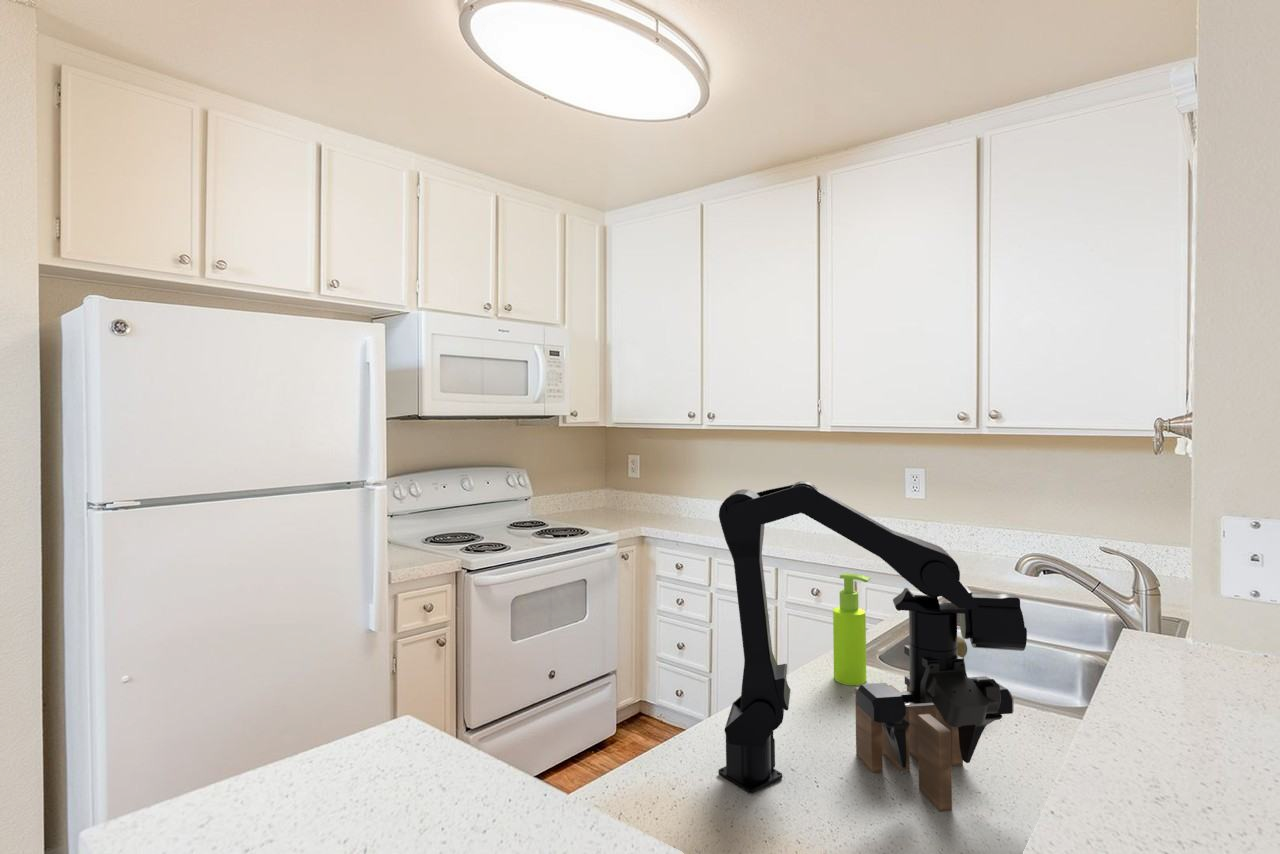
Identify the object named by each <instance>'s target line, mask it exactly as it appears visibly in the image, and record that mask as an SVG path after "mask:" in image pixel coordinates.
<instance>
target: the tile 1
mask: <svg viewBox="0 0 1280 854" xmlns="http://www.w3.org/2000/svg"><path fill="white" fill-rule="evenodd" d="M859 687H860V686H855V687H854V689H855V692H854V693H855V695H854V696H855V700H856V691H857V690H858V688H859ZM855 752H856V753H855V755H856V757H858V759H859V760H860V761H861V763H863V764H864V766H866V767H867V769H868V770H869V771H870V773H883V772H884V771H883V768H884V766H883V765H884V764H883V762H884V761H883V758H884V757H883V756H884V754H883V751H882V723H879V722H875V721H873V720H872V719H871V718H870V717H869V716H868V715H867V714H866V713H865V712H864V711H863V710H862V709H861V708H860V707H859V706H858V705H857V704H856V703H855Z"/></svg>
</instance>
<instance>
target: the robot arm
mask: <svg viewBox="0 0 1280 854" xmlns="http://www.w3.org/2000/svg"><path fill="white" fill-rule="evenodd" d="M799 514H803V515H805V516H807V517H809V518H810V519H812V520H813V521H816V522H817V523H819V524H821V525H823V526H825V527H827V528H828V529H829V530H832V531H833V532H835V533H837V534H839V535H840V536H842V537H843V538H846V539H847V540H849V541H851V542H852V543H854V544H856V545H857V546H860V547H861V548H863V549H865V550H867V551H868V552H870V553H872V554H874V555H875V556H877V557H878V558H880V559H881V560H882V561H883V562H885V563H886V564H887V565H888V566H890V567H891V568H892V569H893V570H894V571H895V572H897V574H899V575H900V576H901V577H902V578H904V580H906V582H908V583H910V584H911V585H912V586H913V587H914V588H915V589H916V590H918V591H919V592H921V593H922V594H914V593H912V592H911V591H910V590H909V588H908V587H904V589H903V590H902V591H901V593H900V594H898V595H897V596H895V597H894V598H892V603H893V605H894V607H895V609H896V611H908V640H909V641H908V645H907V644H905V645H903V646H904V649H903V651H904V655H907V656H908V659H909V661H908V662H909V663H908V664H909V665H908V666H909V675H904V685H906V687H907V686H908V687H910V691H907V690H906V691H904V690H903V691H900V692H896V691H895V690H894V689H893V688H891V687H890V686H889V685H890V684H888V683H886V682H878V683H877V682H876V683H864V684H861V685H859V686H858V687H859V688H858V690H857V691H856V699H855V705H856V704H857V705H858V706H859V707H860V708H861V709H862V710H863V711H864V712H865V713H866V714H867V715H868V716H869V717H870V718H871V719H872V720H873V721H875V722H879V723H882V725H883V727H884V729H885V731H886V733H887V736H888V738H889V741H890V743H891V746H892V748H893V750H894V753H895V755H896V758H897V760H898V763H899V765H900V766H901V767H902V768H906V762H907V751H906V729H907V728H908V727H909V725H910V723H908V722H907V721H906V720H905V719H904V717H905V715H906V708H909V707H923V706H936V708H937V709H938V711H939V712H940V713H941V715H942V716H943V719H944V721H945V722H946V723H947V724H948V725H950V726H952V727H958V733H959V745H960V751H961V757H962V760H963V763H966V764H969V763H970V762H971V760H972V758H973V755H974V753H975V751H976V748H977V745H978V743H979V740H980V738H981V736H982V734H983V733H984V730H985V729H986V727H987V726H988V725H989V724H991V723H993V722H995V721H1000V720H1001V719H1003V715H1009V714H1014V706H1015V705H1014V703H1015V701H1014V697H1013V695H1012V693H1011V691H1010V690H1009V689H1008V688H1006V687H1004V686H1003V685H1001V684H1000V683H998V682H997V681H996V680H995V679H993V678H990V677H988V676H986V675H985V676H971V677H970V676H968V675H967V670H966V671H965V669H966V663H964V662H965V658H964V659H963V658H962V657H960V656H958V655H957V636H958V614H959V627H960V634H961V638H962V639H964V640H969V641H970V645H971V647H972V648H974V649H985V650H986V649H987V650H990V649H991V650H1001V651H1002V650H1004V651H1018V652H1019V651H1020V652H1024V651H1025V649H1026V647H1027V641H1028V640H1027V639H1028V633H1027V632H1028V630H1027V627H1026V626H1025V620H1024V615H1023V611H1022V609H1021V599H1020V597H1018V596H1017V595H1016V594H1015V593H1001V594H989V593H988V594H986V593H973V592H972V591H971V589H970V588H969V587H968V586H967V585H966V584H965V583H962V582H961V580H960V579H961V571H960V568H959V565H958V564H957V562H956V561H955V559H953V558H952V556H951V555H950V554H949V553H948V552H947V550H945V549H944V548H942V547H941V546H939V545H937V544H934V543H931V542H929V541H926V540H924V539H921V538H918V537H916V536H915V537H914V536H911V535H908V534H905V533H902V532H898V531H895V530H893V529H891V528H889V527H887V526H885V525H883V524H881V522H878V521H876V520H875V519H872V518H871V517H869V516H867V515H865V514H864V513H862V512H860V511H858V510H856V509H855V508H853V507H851V506H849V505H847V504H846V503H844V502H843V501H841V500H839V499H837V498H835V497H833V496H831V495H830V494H828V493H826V492H824V491H822V490H821V489H819V488H818V487H816V485H814V483H812V482H811V481H810V482H809V481H807V480H800V481H797V482H795V483H794V484H789V485H786V486H780V487H779V486H778V487H775V488H770V489H766V490H763V491H759V492H755V491H753V490H751V489H747V488H746V489H745V488H744V489H739V490H736V491H734V492H733V493H731V494H730V495H729V496H727V498H725V500H724V501H723V502H722V503H721V504H720V506H719V510H718V518H719V520H718V521H719V524H720V526H721V530H722V534H723V536H724V541H725V543H726V545H727V548H728V551H729V552H730V554H731V555H730V556H731V558H732V561H733V567H734V575H735V585H736V586H735V587H736V595H737V604H738V605H737V606H738V612H739V614H738V615H739V623H740V631H741V639H742V648H743V649H742V650H743V658H744V660H743V662H744V663H743V664H744V665H743V671H742V681H741V682H742V683H741V694H740V696H739V697H738V698H737V699H736V700H734V701H733V703H732V705H731V707H730V710H729V714H728V718H727V720H726V724H725V727H724V734H725V766H723V767H720V768H719V769H717V770H718V772H717V773H718V775H719V776H720V777H723V778H725V779H726V780H728V781H729V782H731V783H732V784H734V785H736V786H738V787H740V788H741V789H743V790H744V791H746V792H748V793H754V792H757V791H758V790H761V789H762V788H765V787H767V786H770V785H771V784H773V783H775V782H777V781H779V780H781V779H782V778H783V773H782V772H781V771H779V770H777V769H775V768H776V748H775V747H776V742H775V741H776V739H775V737H774V731H775V730H776V729H778V728H779V726H780V725H781V724H783V720H784V716H785V715H784V714H785V711H789V705H790V700H791V699H790V698H791V688H790V686H789V684H788V681H787V680H788V679H787V674H788V673H787V672H788V671H787V670H788V664H787V663H782V664H778V663H777V661H776V658H775V655H774V652H773V647H772V646H773V645H772V636H771V627H770V617H769V611H768V610H769V607H768V599H767V592H766V591H767V589H766V582H765V573H764V572H765V571H764V564H763V563H764V562H763V545H764V535H765V524H769V523H773V522H775V521H779V520H781V519H786V518H788V517H791V516H795V515H799ZM939 597H942V598H943V599H945V600H947V601H948V602H947V601H945V602H944V601H939Z"/></svg>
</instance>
